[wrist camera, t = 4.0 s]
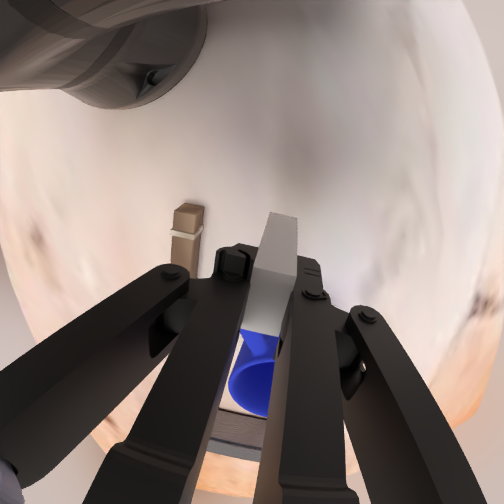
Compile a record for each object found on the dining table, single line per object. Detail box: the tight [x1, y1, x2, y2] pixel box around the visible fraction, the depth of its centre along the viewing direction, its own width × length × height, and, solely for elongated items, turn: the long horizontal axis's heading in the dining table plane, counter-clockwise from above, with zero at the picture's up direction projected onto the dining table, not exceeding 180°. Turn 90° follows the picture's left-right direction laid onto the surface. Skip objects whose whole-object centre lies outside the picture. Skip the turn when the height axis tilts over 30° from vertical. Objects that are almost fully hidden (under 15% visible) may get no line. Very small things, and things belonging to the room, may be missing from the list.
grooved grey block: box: [206, 410, 267, 462], centre depth 38 cm, size 16×5×6 cm, turn 80°
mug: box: [228, 329, 281, 417], centre depth 26 cm, size 8×12×10 cm
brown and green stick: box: [168, 203, 204, 356], centre depth 32 cm, size 2×30×3 cm, turn 170°
